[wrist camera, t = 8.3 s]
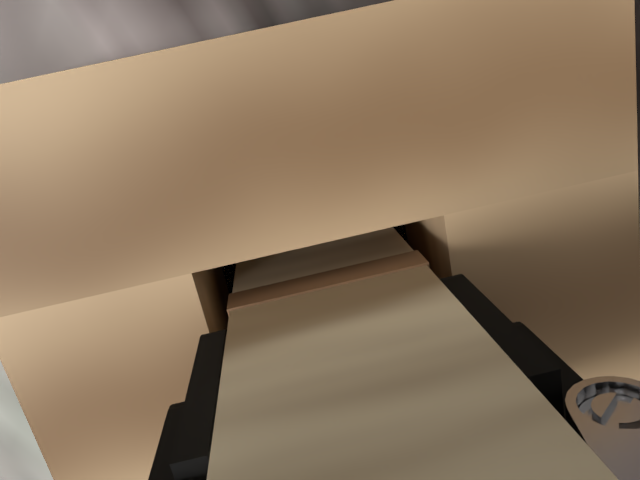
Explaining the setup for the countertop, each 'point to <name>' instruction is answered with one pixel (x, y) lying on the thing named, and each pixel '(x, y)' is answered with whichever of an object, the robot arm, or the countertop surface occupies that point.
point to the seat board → (310, 194)
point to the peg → (375, 378)
